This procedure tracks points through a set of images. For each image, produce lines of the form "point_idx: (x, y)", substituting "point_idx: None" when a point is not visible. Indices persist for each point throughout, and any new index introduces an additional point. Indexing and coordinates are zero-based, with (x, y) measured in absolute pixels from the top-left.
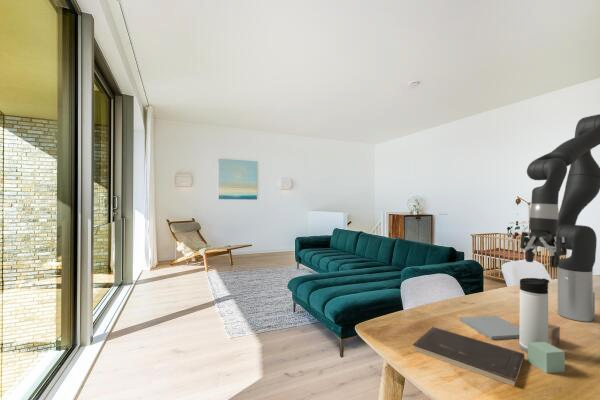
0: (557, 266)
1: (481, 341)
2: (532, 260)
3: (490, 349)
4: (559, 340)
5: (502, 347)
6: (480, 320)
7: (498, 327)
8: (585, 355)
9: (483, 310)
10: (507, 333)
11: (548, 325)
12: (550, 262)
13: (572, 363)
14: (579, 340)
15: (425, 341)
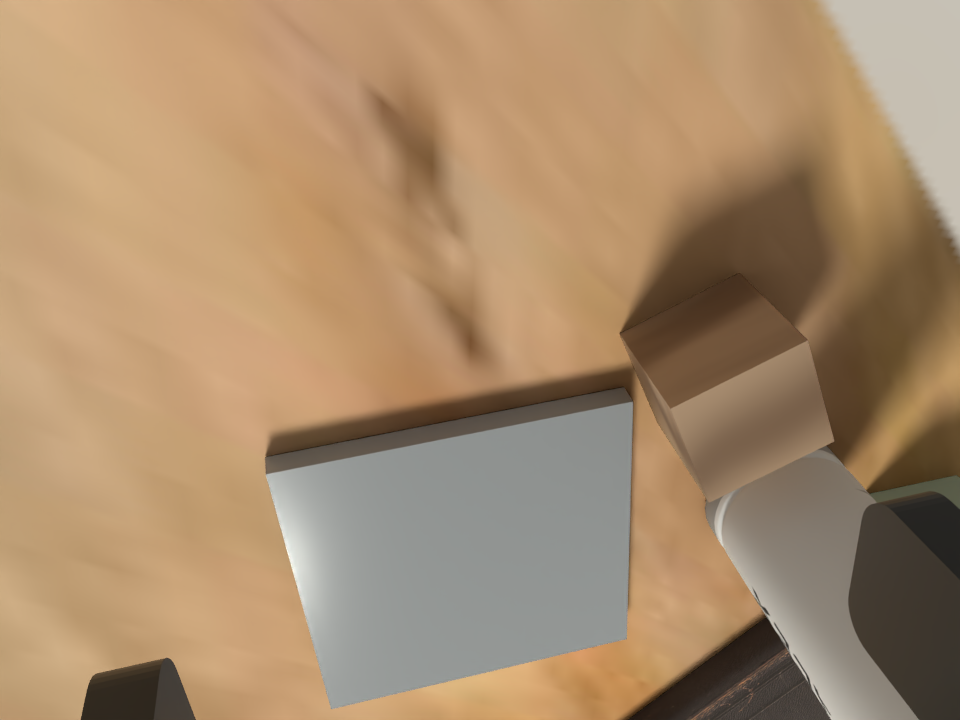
0: (943, 497)
1: (701, 717)
2: (169, 708)
3: (776, 709)
4: (752, 286)
5: (776, 661)
6: (382, 613)
7: (511, 557)
8: (901, 239)
9: (39, 464)
10: (605, 548)
11: (767, 406)
12: (937, 717)
13: (927, 387)
14: (736, 61)
15: None
